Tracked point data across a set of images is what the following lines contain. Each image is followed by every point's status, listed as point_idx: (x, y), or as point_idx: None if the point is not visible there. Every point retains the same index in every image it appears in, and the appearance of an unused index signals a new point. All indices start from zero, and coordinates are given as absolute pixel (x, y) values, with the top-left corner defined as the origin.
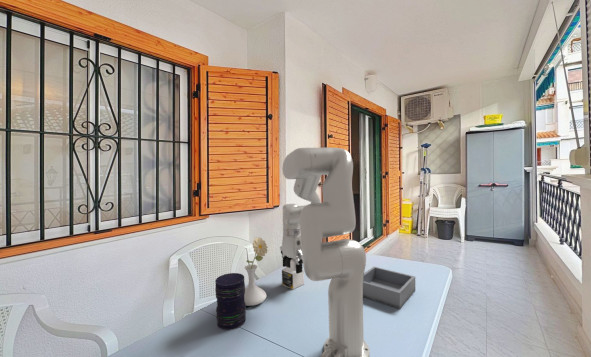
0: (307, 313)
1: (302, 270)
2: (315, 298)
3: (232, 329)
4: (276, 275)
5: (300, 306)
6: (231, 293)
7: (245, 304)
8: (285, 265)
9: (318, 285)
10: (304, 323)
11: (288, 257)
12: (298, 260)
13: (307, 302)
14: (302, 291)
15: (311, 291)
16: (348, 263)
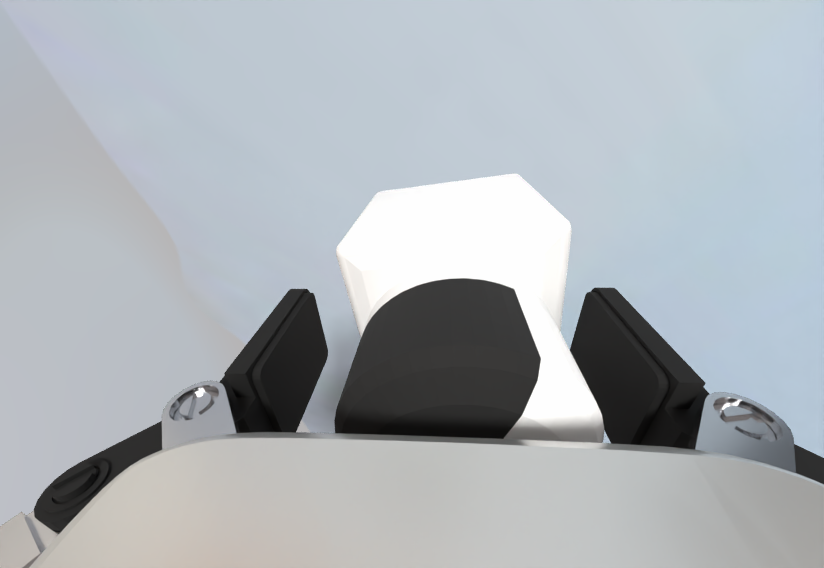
0: (783, 392)
1: (566, 244)
2: (759, 262)
3: None
4: (221, 248)
5: (702, 377)
6: None
7: None
8: (319, 343)
9: (665, 61)
10: (806, 439)
11: (251, 371)
12: (596, 411)
13: (723, 330)
14: (595, 264)
15: (665, 211)
16: None
